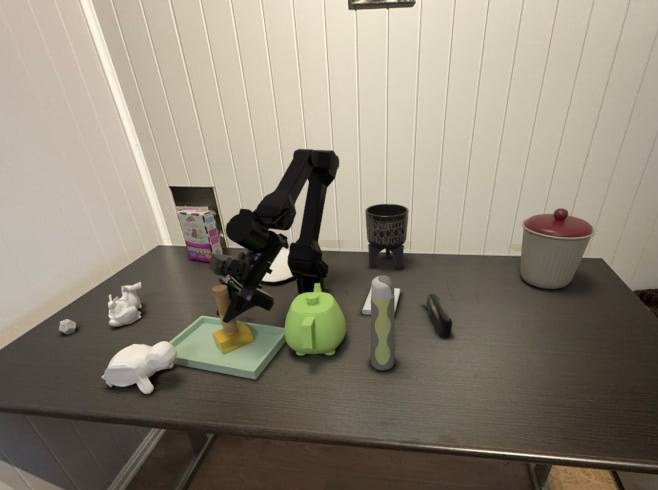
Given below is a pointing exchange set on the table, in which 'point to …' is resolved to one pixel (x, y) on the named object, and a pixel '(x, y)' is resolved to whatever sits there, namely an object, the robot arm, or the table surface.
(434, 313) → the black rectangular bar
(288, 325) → the teapot
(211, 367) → the tray
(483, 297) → the table surface
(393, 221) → the planter
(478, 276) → the table surface
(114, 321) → the white figurine
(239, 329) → the sponge wand
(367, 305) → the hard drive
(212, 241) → the candy bar box
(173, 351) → the white turtle figurine
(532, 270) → the canister
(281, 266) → the plate
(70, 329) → the game die
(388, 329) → the grey green cylinder
